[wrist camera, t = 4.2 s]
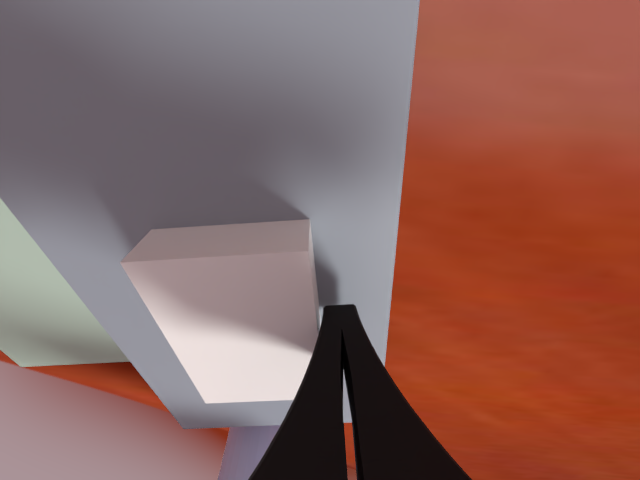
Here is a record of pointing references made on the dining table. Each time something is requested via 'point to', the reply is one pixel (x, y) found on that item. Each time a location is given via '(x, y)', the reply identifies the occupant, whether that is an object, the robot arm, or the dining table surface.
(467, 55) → the dining table surface
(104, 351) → the mat
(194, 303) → the pale pink block
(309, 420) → the robot arm
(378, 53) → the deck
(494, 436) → the dining table surface
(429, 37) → the dining table surface
